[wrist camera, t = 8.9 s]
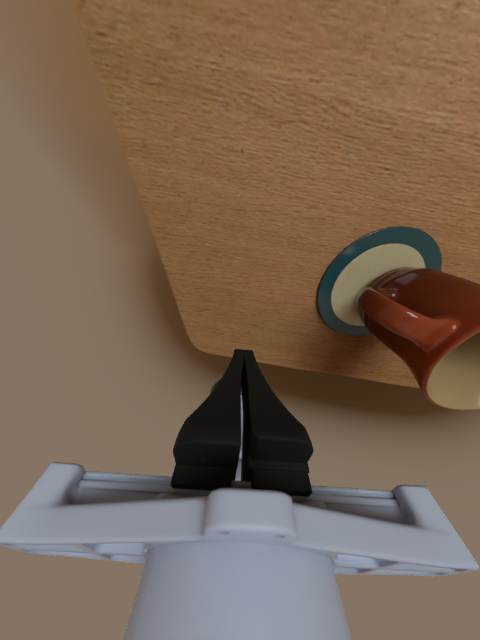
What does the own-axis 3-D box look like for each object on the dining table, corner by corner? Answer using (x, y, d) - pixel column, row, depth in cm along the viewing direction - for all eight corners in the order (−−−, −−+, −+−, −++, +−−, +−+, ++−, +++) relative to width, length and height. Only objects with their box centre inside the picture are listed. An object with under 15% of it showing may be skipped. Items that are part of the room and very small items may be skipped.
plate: (375, 346, 23) (377, 347, 23) (296, 313, 21) (297, 315, 21) (467, 258, 17) (471, 259, 17) (371, 201, 15) (374, 201, 15)
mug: (455, 273, 18) (664, 331, 9) (390, 339, 22) (487, 421, 13) (356, 228, 16) (494, 243, 7) (305, 308, 20) (353, 381, 11)
